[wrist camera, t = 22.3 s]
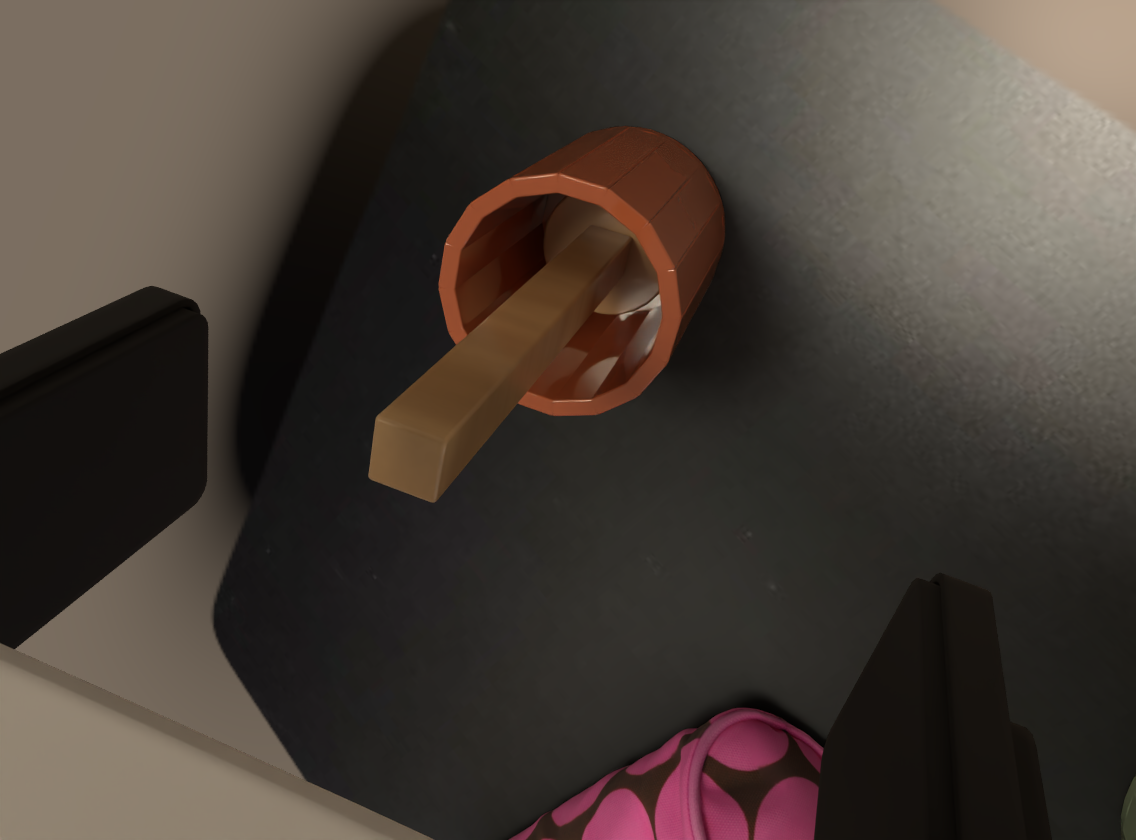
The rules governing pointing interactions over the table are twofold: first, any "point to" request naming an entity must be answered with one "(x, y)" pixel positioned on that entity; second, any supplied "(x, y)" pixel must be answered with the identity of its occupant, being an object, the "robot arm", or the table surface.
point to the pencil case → (702, 788)
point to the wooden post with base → (510, 350)
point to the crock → (637, 200)
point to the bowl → (1129, 813)
